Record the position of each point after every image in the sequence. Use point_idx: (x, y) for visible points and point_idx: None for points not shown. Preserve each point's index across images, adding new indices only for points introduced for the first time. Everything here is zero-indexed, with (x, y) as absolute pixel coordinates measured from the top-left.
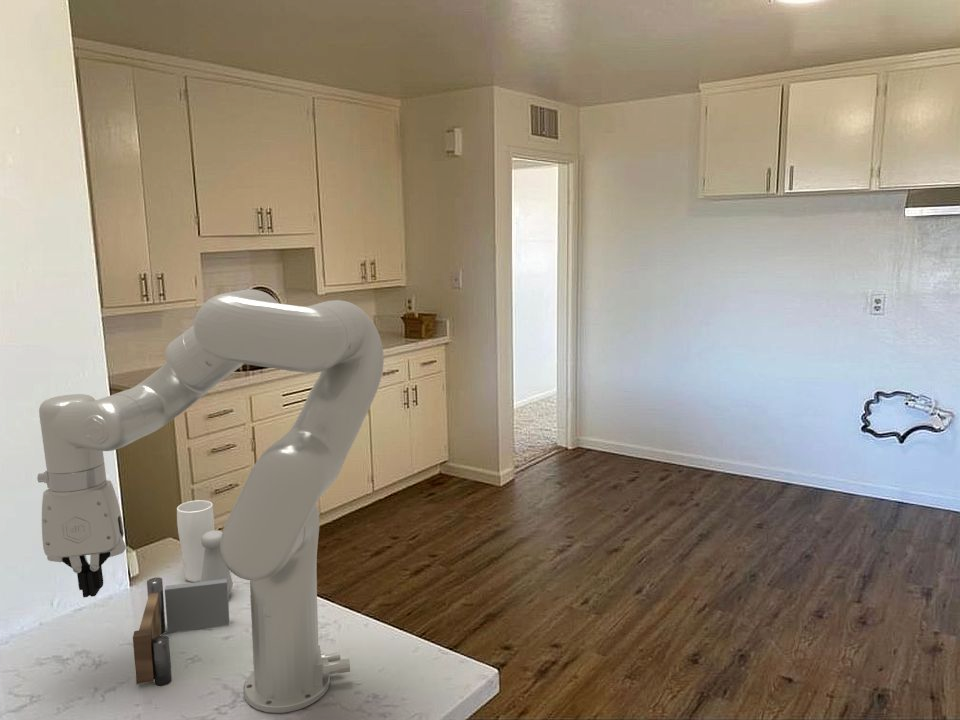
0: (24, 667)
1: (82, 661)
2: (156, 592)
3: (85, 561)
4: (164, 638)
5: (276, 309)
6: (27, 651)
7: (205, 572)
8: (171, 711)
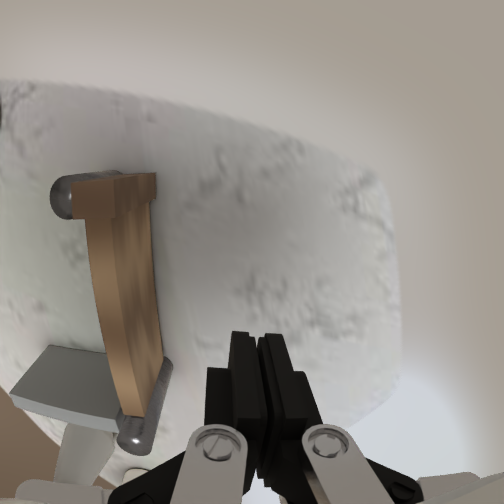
0: (379, 312)
1: (284, 307)
2: (130, 417)
3: (287, 496)
4: (58, 202)
5: None
6: (377, 358)
7: (89, 459)
8: (92, 87)
